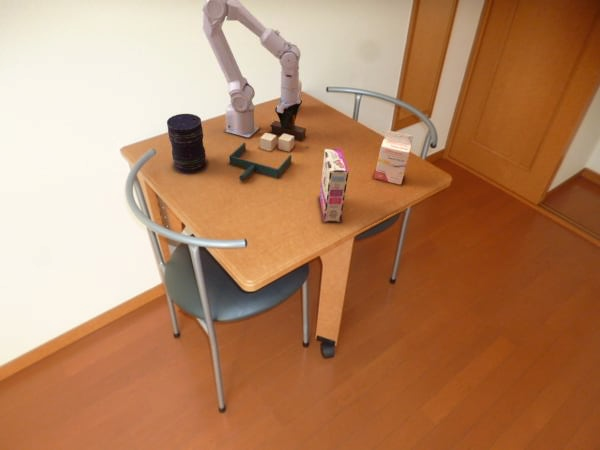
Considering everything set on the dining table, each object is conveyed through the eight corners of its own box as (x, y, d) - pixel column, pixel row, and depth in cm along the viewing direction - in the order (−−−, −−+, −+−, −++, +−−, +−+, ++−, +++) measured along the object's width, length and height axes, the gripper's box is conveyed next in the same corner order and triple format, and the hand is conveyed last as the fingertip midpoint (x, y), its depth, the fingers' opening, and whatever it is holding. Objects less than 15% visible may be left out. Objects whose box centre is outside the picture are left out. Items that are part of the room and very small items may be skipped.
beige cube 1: (260, 148, 140) (260, 137, 137) (265, 143, 143) (265, 132, 140) (270, 151, 139) (270, 140, 136) (276, 145, 142) (276, 135, 139)
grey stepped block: (270, 133, 148) (270, 112, 143) (274, 129, 150) (275, 108, 145) (301, 141, 144) (302, 120, 139) (305, 137, 147) (306, 116, 142)
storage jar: (179, 176, 125) (171, 132, 116) (170, 160, 132) (162, 117, 122) (211, 169, 129) (206, 125, 119) (201, 154, 136) (195, 111, 126)
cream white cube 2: (278, 149, 140) (278, 138, 137) (283, 143, 143) (283, 133, 140) (289, 151, 139) (289, 141, 136) (294, 146, 142) (294, 136, 139)
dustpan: (217, 175, 127) (217, 167, 125) (244, 150, 138) (244, 142, 136) (267, 190, 122) (267, 182, 120) (291, 163, 134) (291, 155, 132)
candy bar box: (342, 222, 113) (349, 171, 102) (323, 222, 112) (329, 171, 102) (336, 197, 121) (342, 147, 110) (318, 197, 121) (323, 147, 110)
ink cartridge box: (373, 179, 129) (382, 136, 119) (376, 170, 133) (385, 129, 123) (401, 185, 127) (411, 142, 118) (403, 176, 131) (414, 135, 121)
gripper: (291, 96, 129) (290, 135, 138) (309, 80, 140) (307, 117, 148) (271, 91, 131) (271, 130, 140) (290, 76, 141) (289, 113, 150)
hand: (288, 123), depth 144 cm, fingers open, 6 cm apart
